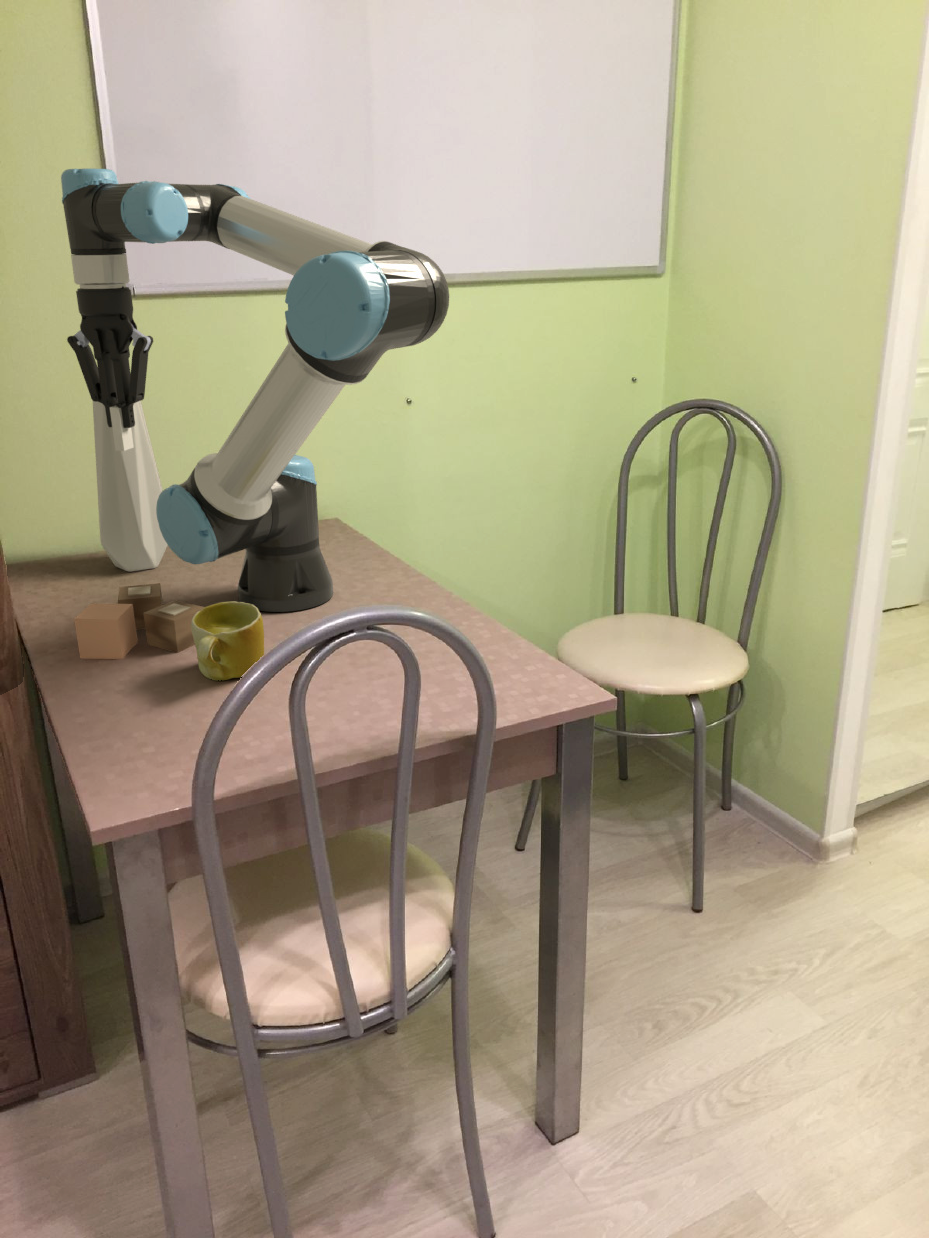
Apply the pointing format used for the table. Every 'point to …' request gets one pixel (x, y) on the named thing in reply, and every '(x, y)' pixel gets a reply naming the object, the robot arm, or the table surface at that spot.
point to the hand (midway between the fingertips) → (124, 448)
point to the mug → (227, 639)
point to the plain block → (106, 631)
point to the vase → (128, 495)
